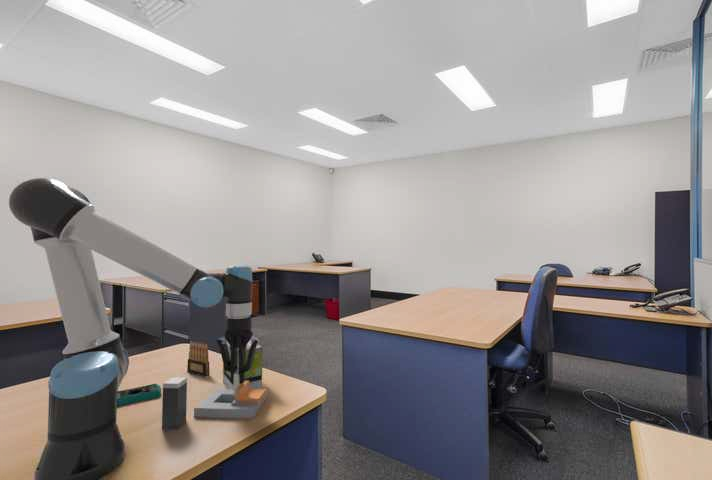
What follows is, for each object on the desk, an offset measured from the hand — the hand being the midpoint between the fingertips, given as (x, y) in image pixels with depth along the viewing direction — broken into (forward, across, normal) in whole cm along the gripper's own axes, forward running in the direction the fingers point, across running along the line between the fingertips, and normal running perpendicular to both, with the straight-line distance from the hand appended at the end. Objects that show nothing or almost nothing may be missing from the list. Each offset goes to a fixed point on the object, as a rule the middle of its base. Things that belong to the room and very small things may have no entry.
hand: (237, 393), depth 99 cm
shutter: (+1, -4, 0) cm, 4 cm away
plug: (+4, +13, +11) cm, 17 cm away
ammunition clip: (+4, +26, -26) cm, 37 cm away
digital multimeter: (+5, +36, -4) cm, 36 cm away
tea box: (+4, +5, -16) cm, 17 cm away
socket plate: (+4, +2, 0) cm, 4 cm away
